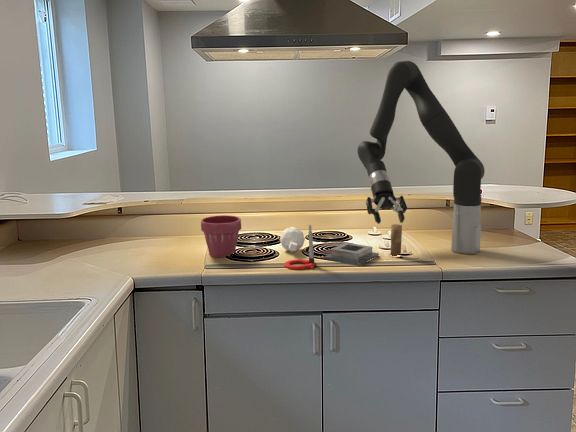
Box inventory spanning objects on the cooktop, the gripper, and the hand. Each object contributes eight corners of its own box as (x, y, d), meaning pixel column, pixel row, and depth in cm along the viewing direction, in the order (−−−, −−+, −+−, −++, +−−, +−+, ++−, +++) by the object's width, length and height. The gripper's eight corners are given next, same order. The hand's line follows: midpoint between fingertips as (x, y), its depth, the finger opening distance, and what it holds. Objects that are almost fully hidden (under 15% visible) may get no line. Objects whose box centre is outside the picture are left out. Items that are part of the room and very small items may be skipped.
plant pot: (193, 254, 202) (192, 219, 199) (224, 246, 212) (223, 213, 209) (218, 262, 192) (217, 225, 190) (250, 253, 202) (249, 218, 199)
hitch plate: (378, 256, 198) (379, 246, 198) (360, 265, 187) (360, 255, 186) (343, 250, 206) (343, 240, 205) (324, 259, 195) (324, 249, 194)
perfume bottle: (276, 242, 210) (277, 255, 199) (284, 220, 207) (285, 231, 196) (299, 248, 211) (301, 261, 200) (306, 226, 209) (309, 238, 197)
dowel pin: (402, 255, 198) (403, 225, 196) (398, 258, 196) (399, 227, 193) (392, 254, 200) (393, 224, 198) (388, 256, 198) (389, 225, 195)
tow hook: (283, 271, 183) (314, 270, 183) (281, 229, 181) (312, 228, 180) (285, 263, 192) (314, 262, 192) (282, 223, 189) (312, 222, 189)
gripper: (364, 179, 205) (374, 217, 197) (401, 178, 208) (413, 215, 199) (359, 192, 212) (369, 228, 203) (396, 190, 214) (406, 226, 206)
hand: (390, 222), depth 201 cm, fingers open, 8 cm apart
